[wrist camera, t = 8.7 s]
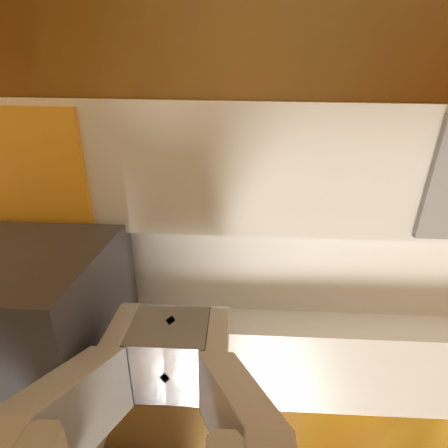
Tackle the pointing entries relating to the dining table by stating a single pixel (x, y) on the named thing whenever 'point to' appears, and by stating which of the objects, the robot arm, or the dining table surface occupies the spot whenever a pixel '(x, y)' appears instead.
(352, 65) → the dining table surface
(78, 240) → the switch knob
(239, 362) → the robot arm
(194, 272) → the switch plate
